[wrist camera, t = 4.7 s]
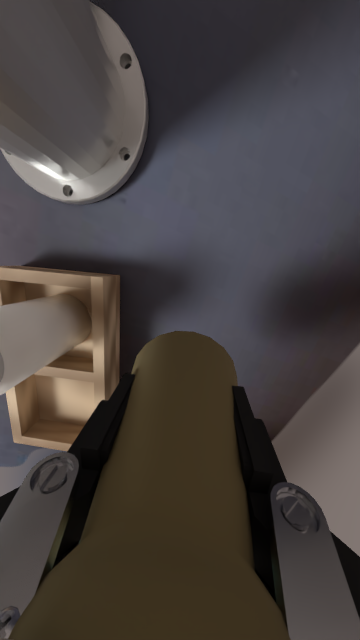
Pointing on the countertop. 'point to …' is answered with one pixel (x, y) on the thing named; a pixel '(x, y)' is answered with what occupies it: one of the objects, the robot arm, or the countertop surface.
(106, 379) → the caddy
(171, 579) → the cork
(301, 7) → the countertop surface
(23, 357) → the salt shaker
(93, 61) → the robot arm
